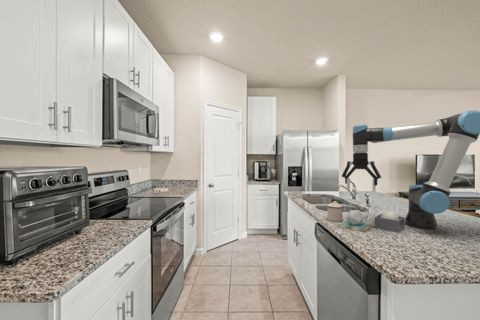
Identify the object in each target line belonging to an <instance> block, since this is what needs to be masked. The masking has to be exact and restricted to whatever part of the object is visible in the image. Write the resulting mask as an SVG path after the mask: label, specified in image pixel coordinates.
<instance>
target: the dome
mask: <svg viewBox="0 0 480 320" xmlns="http://www.w3.org/2000/svg"><path fill="white" fill-rule="evenodd" d="M381 214H382V215H381V217H380V218H385V219H391V220H397V221H398V220H399V217H400V216H399V217H398V214H397V213H396V212H394V211H393V210H385V211H383V212H382V213H381Z"/></svg>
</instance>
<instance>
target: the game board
mask: <svg viewBox="0 0 480 320" xmlns="http://www.w3.org/2000/svg"><path fill="white" fill-rule="evenodd" d="M337 228H342V229H346V230H352V231H356V232H357V231H358V232H361V233H366V232H368V231H369V230H370V229H373V228H374V224H371V223H366V222H363V223H362V225H352V224H351V223H350V222H349V220H348V219H347V220H346V221H342V222H339V223H338V224H337Z"/></svg>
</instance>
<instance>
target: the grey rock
mask: <svg viewBox="0 0 480 320" xmlns="http://www.w3.org/2000/svg"><path fill="white" fill-rule="evenodd" d="M365 218H366V216H365V214H363V213H362V212H361V210H359V209H350V210H349V211H348V214H347V216H346V219H347V220H349V222H350V223H351V224H352V225H362V223H364V220H365Z"/></svg>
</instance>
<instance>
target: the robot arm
mask: <svg viewBox="0 0 480 320" xmlns="http://www.w3.org/2000/svg"><path fill="white" fill-rule="evenodd" d="M432 136H433V137H434V136H437V138H438V137H440V138H441V137H448V141H447V143H446V144H445V147H444V149H443V151H442V153H441V156H440V157H439V159H438V161H437V163H436V166H435V168H434V170H433V172H432V174H431V176H430V178H429V180H428V181H426V182H423V184H411V185H409V187H408V212H407V213H406V215H405V218H404V225H407V226H410V227H413V228H416V229H417V228H418V229H426V230H434V229H435V230H436V229H437V228H438V222H437V219H436V216H435V214H436V215H437V214H442V213H444V212H446V210H448V208H449V207H450V198H449V197H450V195H451V194H452V193H451V190H450V187H451V184H452V182H453V179H454V178H455V175H456V174H457V172H458V170H459V168H460V166H461V164H462V161H463V160H464V159H465V155H466V154H467V152H468V150H469V148H470V145H471V144H472V143H476V142H477V140H478V138H479V136H480V110H475V109H472V110H466V111H463V112H460V113H457V114H454V115H451V116H449V117H444V118H440V119H436V120H435V121H432V122H423V123H416V124H409V125H402V126H396V127H390V126H389V127H385V126H384V127H372V128H371V127H368V124H357V125H354V126H353V127H352V152H353V153H352V161H350V160H349V161H347V163H346V167H345V168H344V169H343V172H342V174H341V178H344V180H345V181H344V183H345V184H346V190H347V191H349V190H350V189H351V178H349V177H350V176H351V175H352V174H353V173H354V172H355V171H356V170H365V171H366V172H367V173H368V174H369V175H370V177H372V182H371V183H372V189H371V190H372V192H373V193H375V192H376V186H378V179H382V175H381V174H380V172H379V171H378V169H377V166H376V165H375V164H376V163H375V161H374V160H373V161H372V160H371V161H369V153H368V151H369V146H368V144H369V143H372V144H377V143H383V142H385V143H386V142H391V141H400V140H408V139H416V138H424V137H432ZM352 165H353V167H352V168H351V169H350V167H351V166H352ZM368 166H370V167H371V168H372V170H373V171H372V170H371V168H370V167H368ZM348 171H349V172H348Z"/></svg>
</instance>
